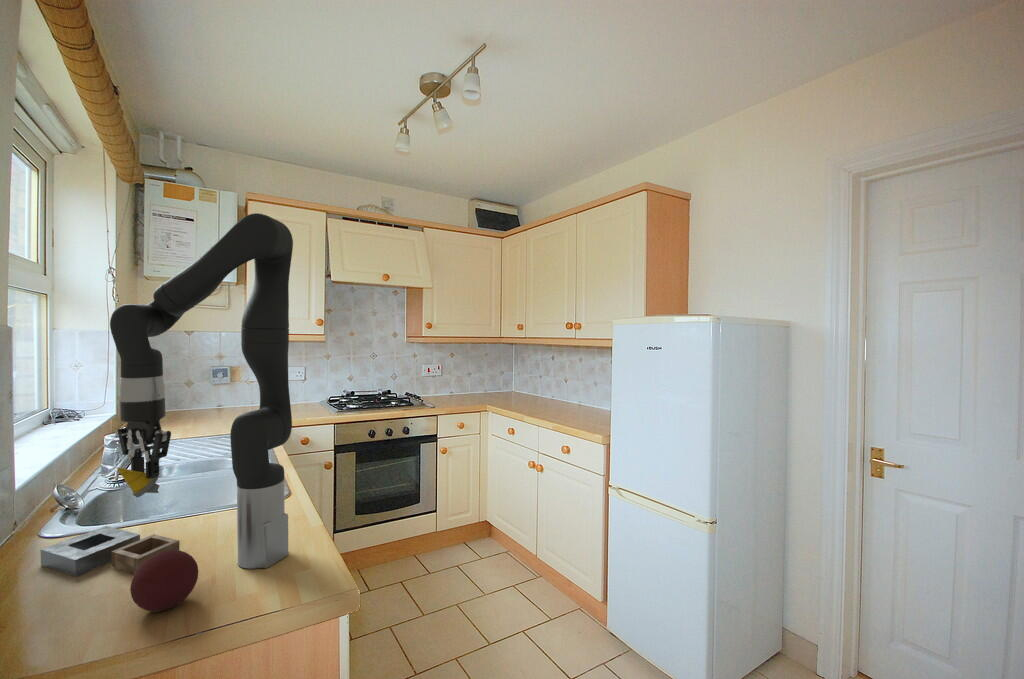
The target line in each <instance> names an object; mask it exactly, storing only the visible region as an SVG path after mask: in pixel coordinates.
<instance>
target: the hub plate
mask: <svg viewBox="0 0 1024 679" xmlns="http://www.w3.org/2000/svg"><path fill="white" fill-rule="evenodd" d="M139 540H141V534H140V533H135V532H132V531H128V530H124V529H121V528H116V527H112V526H108V525H105V526H103V527H100V528H97V529H94V530H91V531H88V532H86V533H82V534H80V535H77V536H74V537H72V538H69V539H65V540H63V541H61V542H57V543H55V544H52V545H49V546H46V547H44V548H41V549H40V566H42V567H45V568H48V569H51V570H55V571H57V572H59V573H63V574H66V575H68V576H69V575H70V576H73V577H75V578H76V577H79V576H81V575H83V574H86V573H88V572H90V571H93V570H95V569H98V568H100V567H103V566H105V565H107V564H109V563H112V554H111V551H114V550H116V549H119V548H121V547H124V546H126V545H129V544H131V543H134V542H136V541H139Z"/></svg>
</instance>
